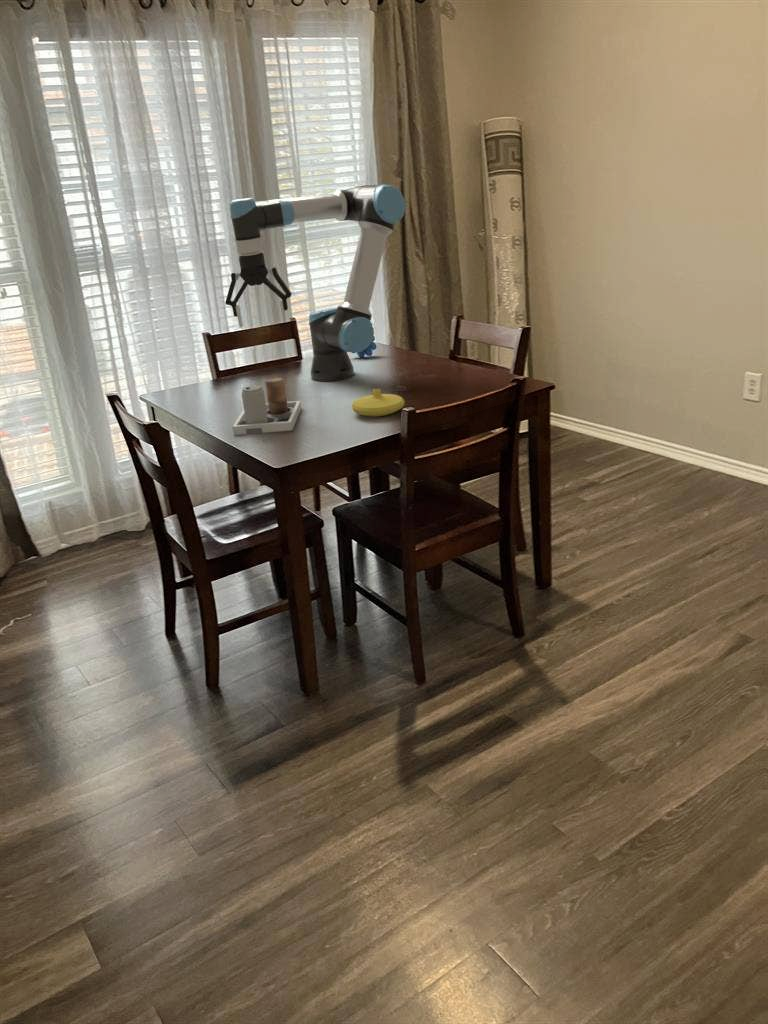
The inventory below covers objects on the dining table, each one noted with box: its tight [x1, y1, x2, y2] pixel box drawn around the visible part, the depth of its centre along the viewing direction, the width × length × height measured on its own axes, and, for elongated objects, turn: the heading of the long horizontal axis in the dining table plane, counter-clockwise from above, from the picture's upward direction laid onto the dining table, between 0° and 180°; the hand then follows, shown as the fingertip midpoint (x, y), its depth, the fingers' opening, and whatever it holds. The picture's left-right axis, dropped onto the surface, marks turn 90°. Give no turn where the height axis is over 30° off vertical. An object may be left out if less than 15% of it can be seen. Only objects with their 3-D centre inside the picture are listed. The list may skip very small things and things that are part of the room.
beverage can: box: [241, 384, 269, 425], centre depth 251 cm, size 6×6×12 cm
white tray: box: [232, 400, 302, 436], centre depth 257 cm, size 17×22×2 cm
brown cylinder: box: [264, 377, 288, 415], centre depth 260 cm, size 6×6×11 cm
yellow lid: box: [351, 388, 405, 418], centre depth 255 cm, size 16×16×7 cm
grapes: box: [350, 335, 377, 358], centre depth 322 cm, size 12×7×12 cm, turn 85°
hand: (263, 324), depth 267 cm, fingers open, 13 cm apart
